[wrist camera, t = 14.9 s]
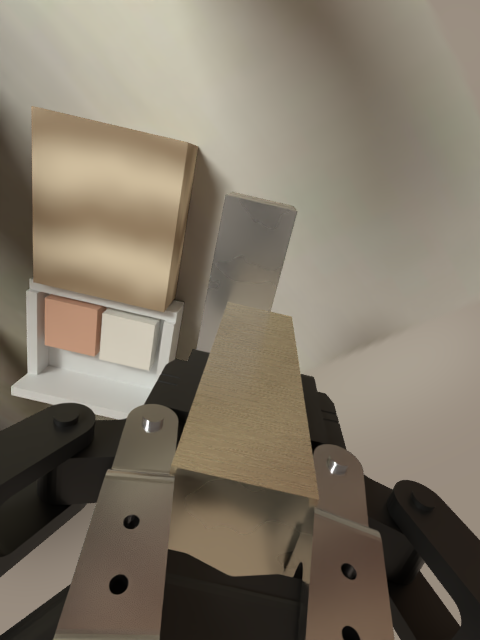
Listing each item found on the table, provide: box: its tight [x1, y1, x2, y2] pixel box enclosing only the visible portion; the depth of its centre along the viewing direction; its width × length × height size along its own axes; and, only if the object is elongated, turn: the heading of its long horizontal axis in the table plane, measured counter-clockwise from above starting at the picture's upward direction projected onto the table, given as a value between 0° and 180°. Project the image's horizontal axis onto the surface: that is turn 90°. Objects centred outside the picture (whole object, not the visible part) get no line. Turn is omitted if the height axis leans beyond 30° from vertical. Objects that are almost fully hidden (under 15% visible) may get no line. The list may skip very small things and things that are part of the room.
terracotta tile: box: [45, 294, 106, 357], centre depth 35 cm, size 5×5×2 cm
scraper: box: [168, 192, 319, 576], centre depth 14 cm, size 4×12×13 cm, turn 168°
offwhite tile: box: [99, 307, 161, 371], centre depth 35 cm, size 5×5×2 cm
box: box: [11, 278, 184, 420], centre depth 35 cm, size 11×14×6 cm
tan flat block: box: [31, 106, 198, 312], centre depth 31 cm, size 14×12×4 cm
